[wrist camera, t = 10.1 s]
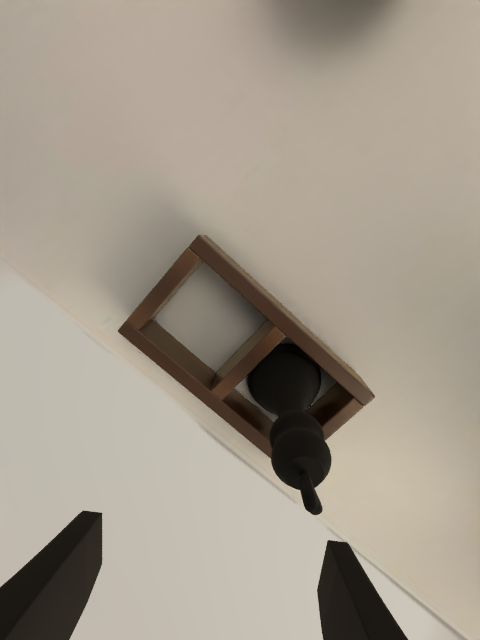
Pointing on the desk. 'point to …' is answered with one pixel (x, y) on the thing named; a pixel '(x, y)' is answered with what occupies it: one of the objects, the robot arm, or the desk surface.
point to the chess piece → (293, 419)
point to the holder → (240, 350)
